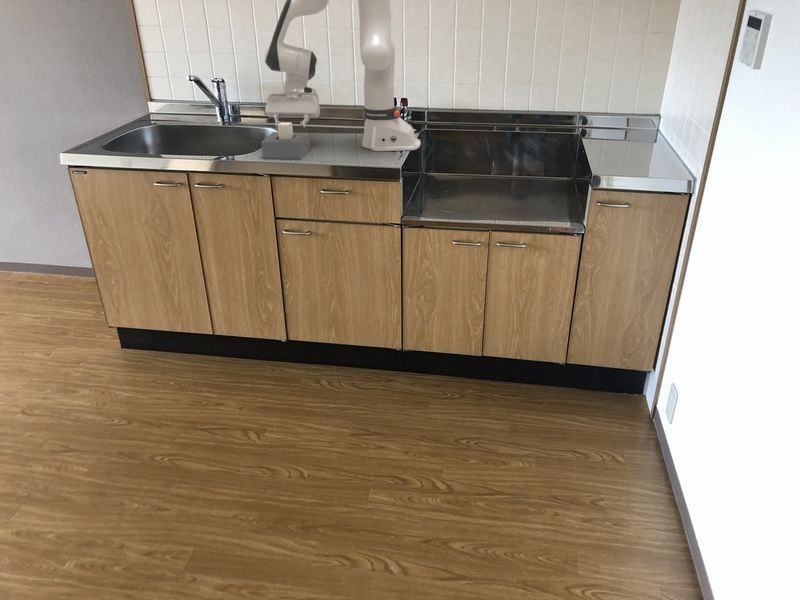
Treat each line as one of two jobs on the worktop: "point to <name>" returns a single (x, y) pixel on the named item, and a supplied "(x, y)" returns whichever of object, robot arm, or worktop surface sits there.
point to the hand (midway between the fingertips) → (290, 126)
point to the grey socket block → (286, 146)
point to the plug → (285, 131)
